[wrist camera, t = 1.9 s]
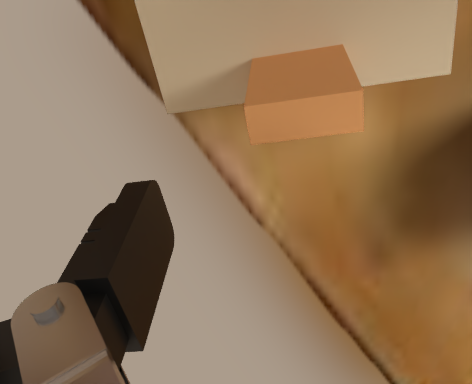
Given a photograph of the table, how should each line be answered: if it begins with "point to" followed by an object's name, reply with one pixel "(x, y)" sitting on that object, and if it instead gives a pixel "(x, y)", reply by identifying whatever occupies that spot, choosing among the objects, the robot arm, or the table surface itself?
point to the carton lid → (293, 57)
